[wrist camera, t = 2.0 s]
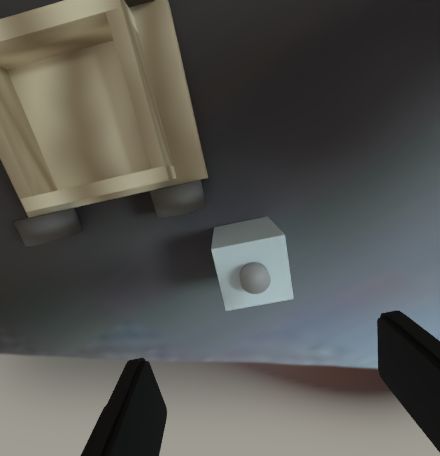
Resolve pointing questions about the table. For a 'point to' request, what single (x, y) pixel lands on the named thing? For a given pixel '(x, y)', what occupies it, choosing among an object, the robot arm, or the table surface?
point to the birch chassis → (95, 112)
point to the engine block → (251, 263)
